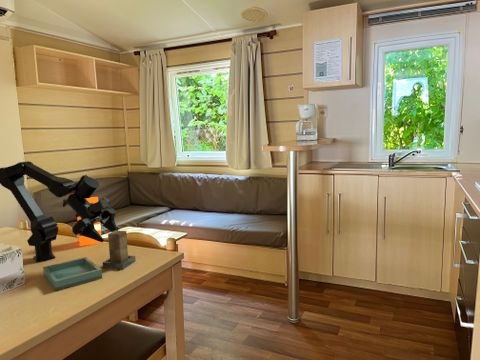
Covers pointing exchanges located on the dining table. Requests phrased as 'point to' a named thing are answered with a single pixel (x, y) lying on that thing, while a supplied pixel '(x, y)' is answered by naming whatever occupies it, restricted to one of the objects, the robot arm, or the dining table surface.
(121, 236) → the plate
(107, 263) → the grey square bin
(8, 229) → the dining table surface
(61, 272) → the tray
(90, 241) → the orange juice
